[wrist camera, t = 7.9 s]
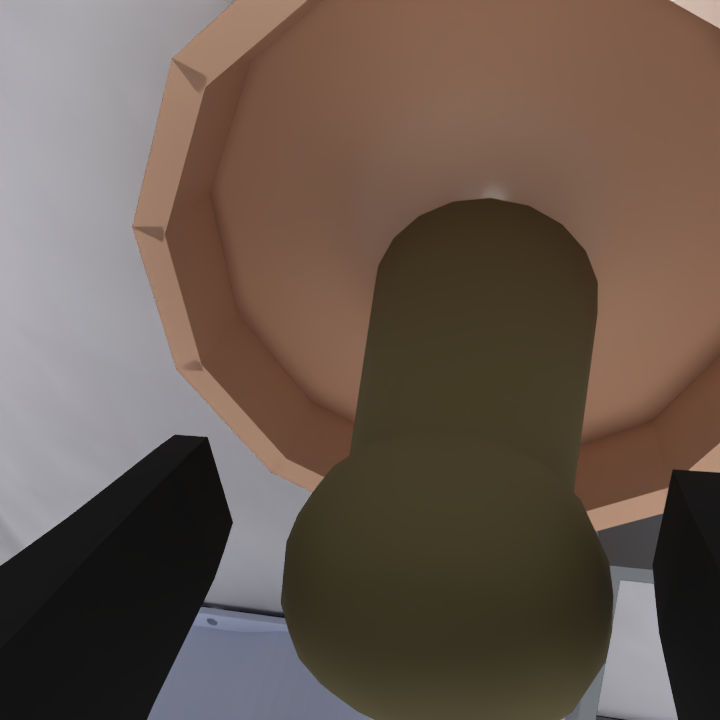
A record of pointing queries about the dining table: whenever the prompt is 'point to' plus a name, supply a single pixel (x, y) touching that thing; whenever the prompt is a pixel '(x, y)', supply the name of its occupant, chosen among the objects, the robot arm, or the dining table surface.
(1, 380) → the dining table surface
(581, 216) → the bowl
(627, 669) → the dining table surface
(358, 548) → the cork
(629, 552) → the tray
